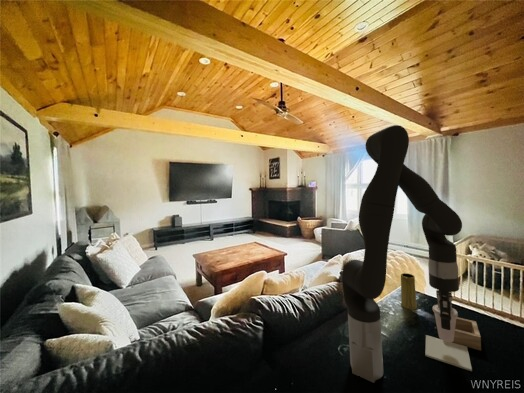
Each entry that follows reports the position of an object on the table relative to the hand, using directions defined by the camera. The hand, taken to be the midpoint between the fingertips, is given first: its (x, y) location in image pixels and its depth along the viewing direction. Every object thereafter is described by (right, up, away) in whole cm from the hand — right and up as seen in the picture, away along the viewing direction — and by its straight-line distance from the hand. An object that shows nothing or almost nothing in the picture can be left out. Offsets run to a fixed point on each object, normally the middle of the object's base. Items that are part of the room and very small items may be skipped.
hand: (445, 322), depth 72 cm
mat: (+1, -10, 0) cm, 10 cm away
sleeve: (+11, -9, +7) cm, 16 cm away
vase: (+7, -9, +28) cm, 30 cm away
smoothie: (0, -5, 0) cm, 5 cm away
